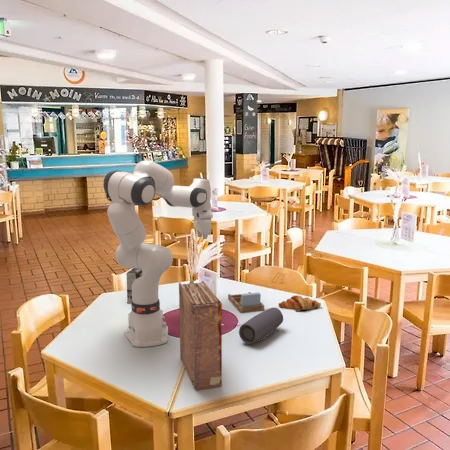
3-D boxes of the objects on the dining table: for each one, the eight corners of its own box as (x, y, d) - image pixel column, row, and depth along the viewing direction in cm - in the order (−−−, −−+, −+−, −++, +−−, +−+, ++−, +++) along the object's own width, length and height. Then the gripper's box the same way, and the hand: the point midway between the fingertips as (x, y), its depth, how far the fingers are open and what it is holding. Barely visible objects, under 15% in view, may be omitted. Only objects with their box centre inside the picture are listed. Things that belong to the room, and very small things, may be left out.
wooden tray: (264, 312, 224) (264, 305, 223) (240, 315, 220) (240, 308, 220) (250, 298, 243) (250, 292, 242) (228, 300, 239) (228, 294, 239)
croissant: (318, 312, 234) (316, 296, 236) (324, 309, 224) (323, 293, 226) (276, 313, 231) (275, 297, 233) (281, 311, 221) (280, 294, 224)
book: (180, 357, 179) (178, 282, 173) (203, 353, 182) (202, 279, 176) (195, 391, 155) (194, 305, 150) (221, 386, 158) (221, 302, 152)
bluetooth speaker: (265, 325, 209) (266, 304, 207) (284, 330, 204) (284, 308, 202) (237, 343, 191) (237, 320, 189) (256, 349, 186) (257, 325, 184)
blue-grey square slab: (260, 309, 224) (260, 293, 223) (242, 311, 222) (242, 295, 220) (258, 308, 227) (258, 292, 225) (241, 310, 224) (241, 294, 223)
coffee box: (139, 304, 235) (137, 273, 232) (127, 303, 236) (125, 272, 233) (145, 298, 243) (144, 268, 240) (134, 297, 245) (132, 267, 242)
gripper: (190, 208, 229) (190, 236, 232) (200, 215, 210) (200, 245, 213) (202, 208, 231) (203, 235, 234) (213, 215, 212) (213, 244, 214)
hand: (202, 240), depth 223 cm, fingers open, 8 cm apart
